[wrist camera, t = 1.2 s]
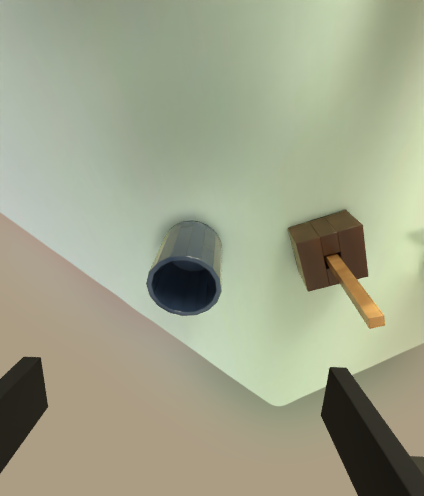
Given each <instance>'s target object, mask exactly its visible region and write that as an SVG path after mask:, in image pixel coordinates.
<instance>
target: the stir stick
mask: <svg viewBox="0 0 424 496" xmlns="http://www.w3.org/2000/svg"><path fill="white" fill-rule="evenodd" d="M324 260H325V261H326V263H327V264H328V266H329V268H330V269H331V271H332V272H333V274H334V275H335V277H336V278H337V280H338V281H339V283H340V284H341V286H342V287H343V289H344V290H345V292H346V293H347V295H348V297H349V298H350V300H351V301H352V303H353V304H354V306H355V307H356V309H357V310H358V312H359V313H360V315H361V316H362V318H363V319H364V321H365V322H366V324H367V326H368V327H369V328H370V329H371V328H375V327H380V326H385V320H384V314H383V313H382V312H381V310H380V309H379V308H378V307H377V305H376V304H375V303H374V301H373V300H372V299H371V297H370V296H369V295H368V293H367V292H366V291H365V290H364V288H363V287H362V286H361V284H360V283H359V282H358V280H357V279H356V278H355V277H354V275H353V274H352V273H351V271H350V270H349V269H348V267H347V266H346V265H345V263H344V262H343V261H342V260H341V258H340V257H339V256H338V254H337V253H334V254H330V255H327V256H324Z"/></svg>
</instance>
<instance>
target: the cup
mask: <svg viewBox="0 0 424 496" xmlns="http://www.w3.org/2000/svg"><path fill="white" fill-rule="evenodd" d="M146 284H147V288H148V291H149V295H150V297H151V298H152V299H153V300H154V302H155V303H156V304H157V305H158V306H159V307H161V308H163V309H164V310H166V311H168V312H170V313H173V314H177V315H181V316H188V315H198V314H200V313H203V312H205V311H208V310H209V309H210V308H211V307H212V306H214V305H215V304H216V303H217V301H218V299H219V296H220V294H221V290H222V250H221V241H220V239H219V237H218V235H217V233H216V232H215V231H214V230H213V229H212V228H211V227H209V226H208V225H206V224H204V223H201V222H197V221H185V222H181V223H179V224H177V225H175V226H173V227H172V228H171V229H170V230H169V231H168V233H167V234H166V236H165V237H164V239H163V242H162V244H161V246H160V249H159V251H158V253H157V255H156V258H155V260H154V262H153V264H152V267H151V269H150V271H149V274H148V279H147V283H146Z"/></svg>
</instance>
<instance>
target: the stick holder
mask: <svg viewBox="0 0 424 496" xmlns="http://www.w3.org/2000/svg"><path fill="white" fill-rule="evenodd" d="M288 232H289V235H290V239H291V243H292V247H293V251H294V255H295V259H296V262H297V266H298V270H299V273H300V275H301V278H302V280H303V282H304V284H305V286H306V289H307V291H308V292H309V291H312V290H316V289H320V288H324V287H328V286H332V285H336V284H340V283H339V281H338V280H337V278H336V277H335V275H334V274H333V272H332V271H331V269H330V268H329V266H328V264H327V263H326V261H325V260H324V256H327V255H330V254H334V253H337V254H338V256H339V257H340V258H341V260H342V261H343V262H344V263H345V265H346V266H347V267H348V269H349V270H350V271H351V273H352V274H353V275H354V277H355V278H356V279H360V278H364V277H368V269H367V260H366V251H365V241H364V232H363V225H362V224H361V223H360V222H359V221H358V220H357V219H356V218H354V217H353V216H352V215H351V214H350V213H349V212H347V211H346V210H344V211H341V212H338V213H335V214H331V215H328V216H325V217H322V218H319V219H315V220H312V221H309V222H306V223H302V224H299V225H296V226H293V227H289V228H288Z"/></svg>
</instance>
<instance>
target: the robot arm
mask: <svg viewBox="0 0 424 496" xmlns="http://www.w3.org/2000/svg"><path fill="white" fill-rule="evenodd" d="M47 408H48V404H47V397H46V391H45V383H44V377H43V369H42V363H41V358H40V357H23V358H22V359H21V360H20V361H19V362H18V363H17V364H15V366H13V367H12V368H11V369H10V370H9V371H8V372H7V373H6V374H5V375H4V376H3V377H2V378H1V379H0V473H1V472H2V470H3V469H4V468H5V466H6V465H7V463H8V462H9V460H10V459H11V458H12V457H13V455H14V454H15V452H16V451H17V450H18V448H19V447H20V445H21V444H22V443H23V441H24V440H25V438H26V437H27V436H28V434H29V433H30V431H31V430H32V429H33V427H34V426H35V424H36V423H37V421H38V420H39V419H40V417H41V416H42V415H43V413H44V412H45V410H46V409H47ZM321 417H322V419H323V421H324V423H325V425H326V428H327V430H328V432H329V434H330V436H331V438H332V441H333V443H334V445H335V447H336V449H337V451H338V453H339V456H340V458H341V460H342V462H343V464H344V466H345V469H346V471H347V473H348V475H349V477H350V479H351V482H352V484H353V486H354V488H355V490H356V492H357V494H358V496H424V457H413V456H409V454H408V453H407V452H406V450H405V449H404V447H403V446H402V445H401V443H400V442H399V441H398V439H397V438H396V436H395V435H394V433H393V432H392V431H391V429H390V428H389V426H388V425H387V424H386V422H385V421H384V420H383V418H382V417H381V415H380V414H379V413H378V411H377V410H376V408H375V407H374V406H373V404H372V403H371V401H370V400H369V399H368V397H367V396H366V394H365V393H364V392H363V390H362V389H361V388H360V386H359V385H358V383H357V382H356V381H355V379H354V378H353V376H352V375H351V373H350V372H349V371H348V369H347V368H339V367H330V369H329V374H328V380H327V385H326V391H325V396H324V402H323V406H322V412H321Z"/></svg>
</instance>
